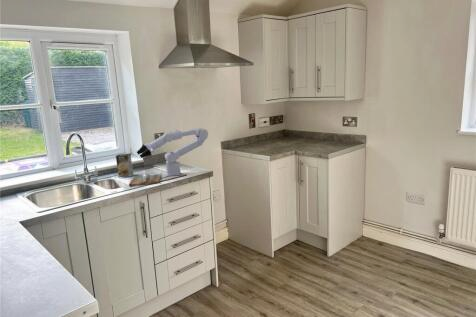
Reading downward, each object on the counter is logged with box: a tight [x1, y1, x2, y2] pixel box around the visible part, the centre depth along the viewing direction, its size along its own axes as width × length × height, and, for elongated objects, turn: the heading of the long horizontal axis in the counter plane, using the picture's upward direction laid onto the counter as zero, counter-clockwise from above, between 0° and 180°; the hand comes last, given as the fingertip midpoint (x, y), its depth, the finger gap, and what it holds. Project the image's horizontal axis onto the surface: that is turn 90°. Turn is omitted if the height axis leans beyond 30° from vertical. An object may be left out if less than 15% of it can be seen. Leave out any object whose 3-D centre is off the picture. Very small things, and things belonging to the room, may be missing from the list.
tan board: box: [128, 173, 162, 187], centre depth 240 cm, size 19×22×1 cm
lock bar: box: [143, 173, 149, 182], centre depth 235 cm, size 10×3×2 cm, turn 8°
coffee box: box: [115, 153, 134, 178], centre depth 257 cm, size 9×6×16 cm
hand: (138, 155), depth 240 cm, fingers open, 7 cm apart
